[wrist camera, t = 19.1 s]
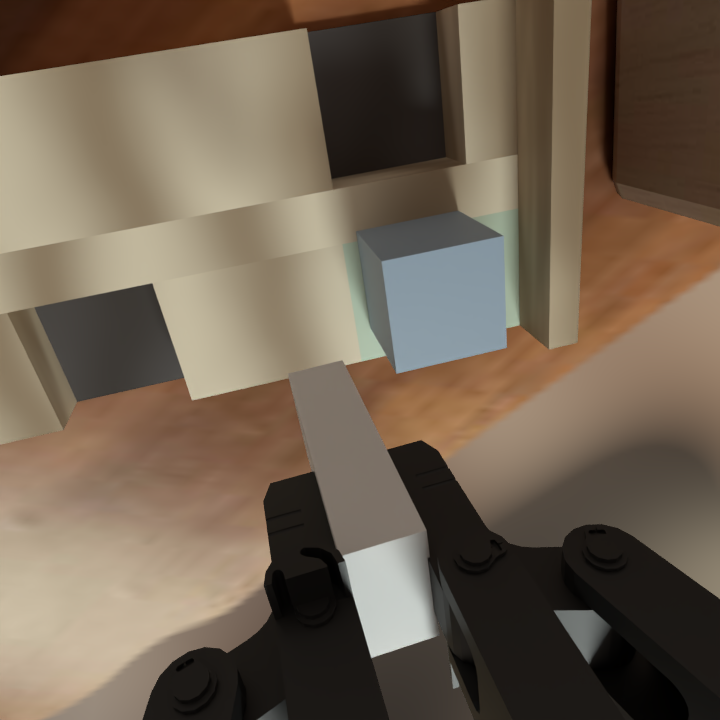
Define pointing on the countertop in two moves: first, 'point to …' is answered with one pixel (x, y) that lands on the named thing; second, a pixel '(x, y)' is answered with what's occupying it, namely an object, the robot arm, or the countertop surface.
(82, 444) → the countertop surface
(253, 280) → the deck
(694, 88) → the block
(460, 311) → the cube
